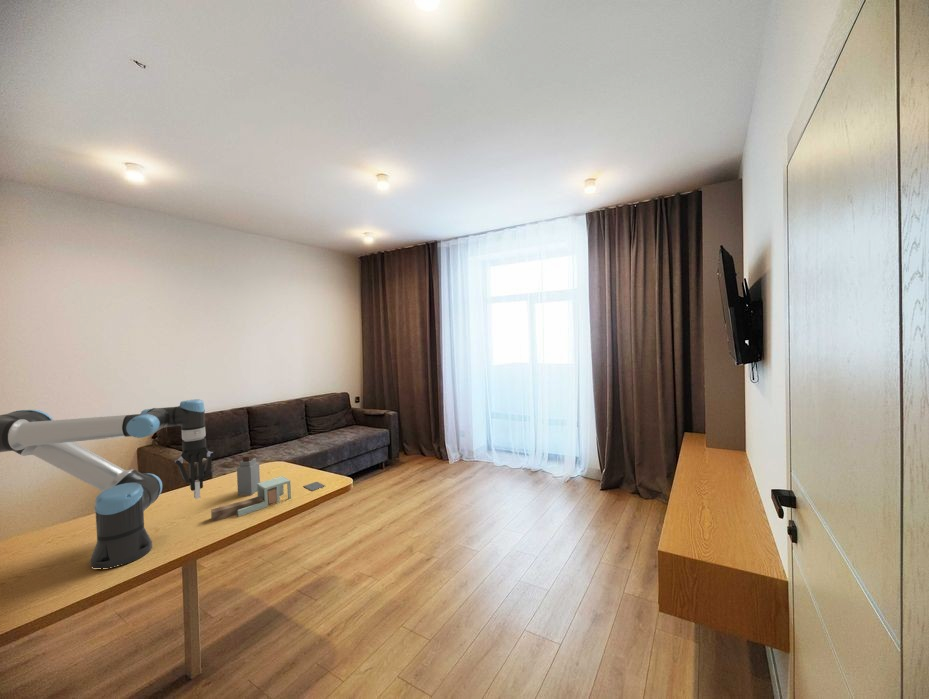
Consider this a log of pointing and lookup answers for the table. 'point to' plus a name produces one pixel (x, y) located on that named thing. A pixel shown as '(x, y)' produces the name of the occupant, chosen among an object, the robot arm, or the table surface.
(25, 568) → the table surface
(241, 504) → the rod
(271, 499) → the block
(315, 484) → the trap mat
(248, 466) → the perfume bottle
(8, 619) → the table surface
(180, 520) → the table surface
